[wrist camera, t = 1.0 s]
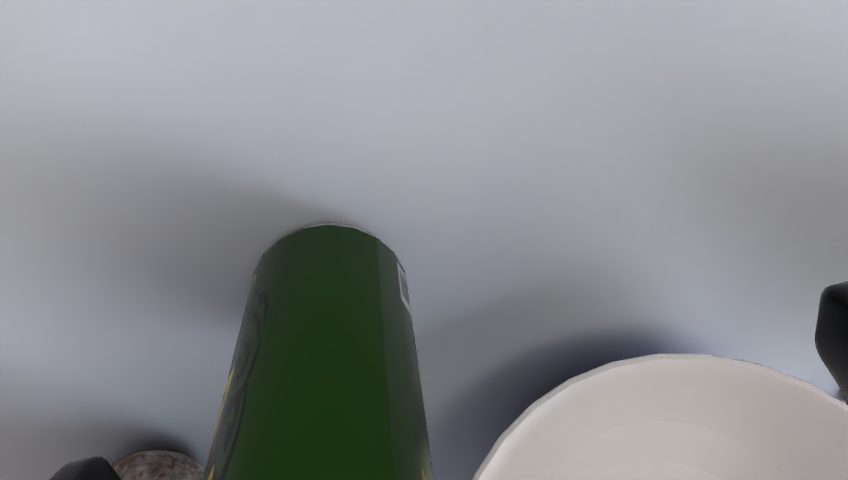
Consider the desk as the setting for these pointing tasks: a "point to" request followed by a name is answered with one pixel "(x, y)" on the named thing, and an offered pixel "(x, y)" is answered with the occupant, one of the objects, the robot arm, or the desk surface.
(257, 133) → the desk surface
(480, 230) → the desk surface
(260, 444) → the beer can
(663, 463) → the bowl
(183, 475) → the sculpture
